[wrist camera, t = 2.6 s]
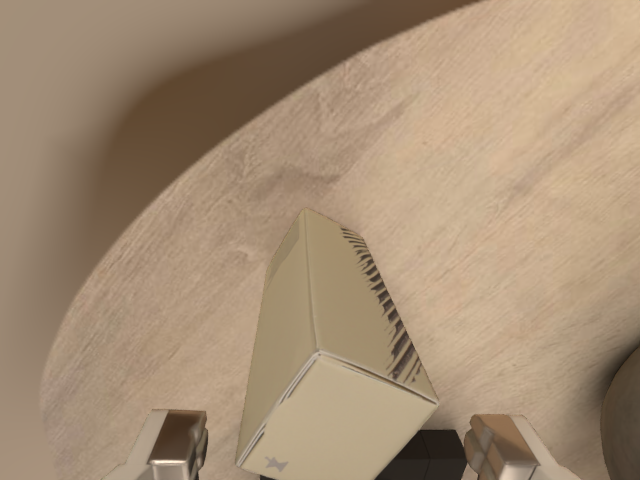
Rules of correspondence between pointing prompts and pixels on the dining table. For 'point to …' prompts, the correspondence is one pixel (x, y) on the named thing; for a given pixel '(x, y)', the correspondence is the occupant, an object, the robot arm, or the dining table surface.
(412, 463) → the pad
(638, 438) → the bowl
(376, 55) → the dining table surface
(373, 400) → the box
